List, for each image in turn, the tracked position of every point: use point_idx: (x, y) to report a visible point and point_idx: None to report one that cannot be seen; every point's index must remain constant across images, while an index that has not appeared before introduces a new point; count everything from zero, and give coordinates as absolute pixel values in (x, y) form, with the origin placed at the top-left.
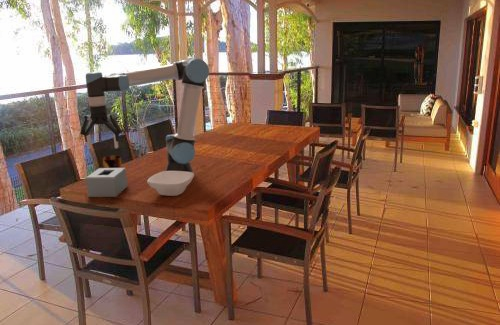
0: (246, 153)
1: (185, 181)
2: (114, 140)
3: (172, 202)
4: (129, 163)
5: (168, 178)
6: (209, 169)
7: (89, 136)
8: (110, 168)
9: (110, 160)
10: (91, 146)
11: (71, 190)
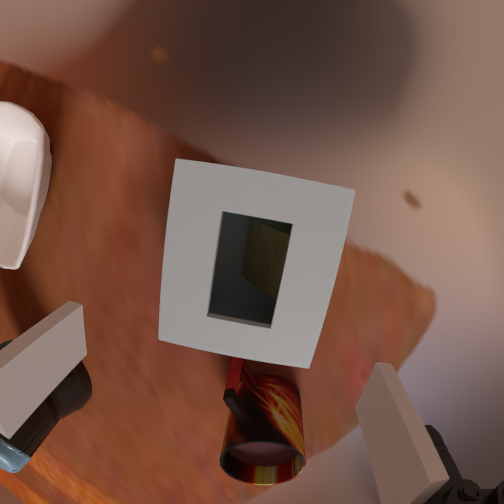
0: None
1: None
2: (23, 343)
3: (28, 95)
4: (246, 498)
5: (18, 243)
6: None
7: (396, 497)
8: (240, 349)
9: (260, 439)
10: (360, 412)
11: (414, 291)
